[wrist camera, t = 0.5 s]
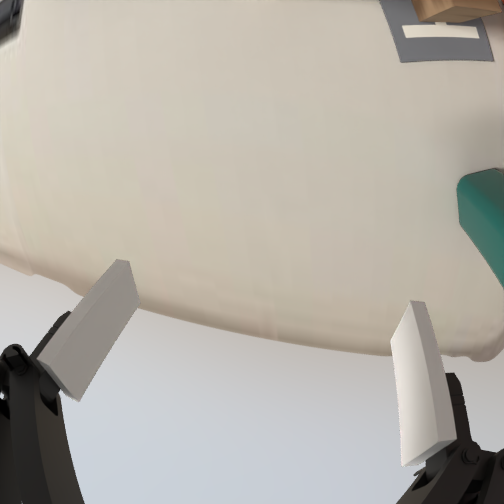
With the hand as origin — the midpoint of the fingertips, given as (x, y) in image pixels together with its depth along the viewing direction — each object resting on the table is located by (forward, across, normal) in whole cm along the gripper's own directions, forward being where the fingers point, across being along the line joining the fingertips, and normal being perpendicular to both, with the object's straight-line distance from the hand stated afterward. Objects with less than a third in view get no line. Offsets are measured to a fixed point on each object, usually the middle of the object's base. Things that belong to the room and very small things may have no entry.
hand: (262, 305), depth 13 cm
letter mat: (+26, +15, +24) cm, 38 cm away
